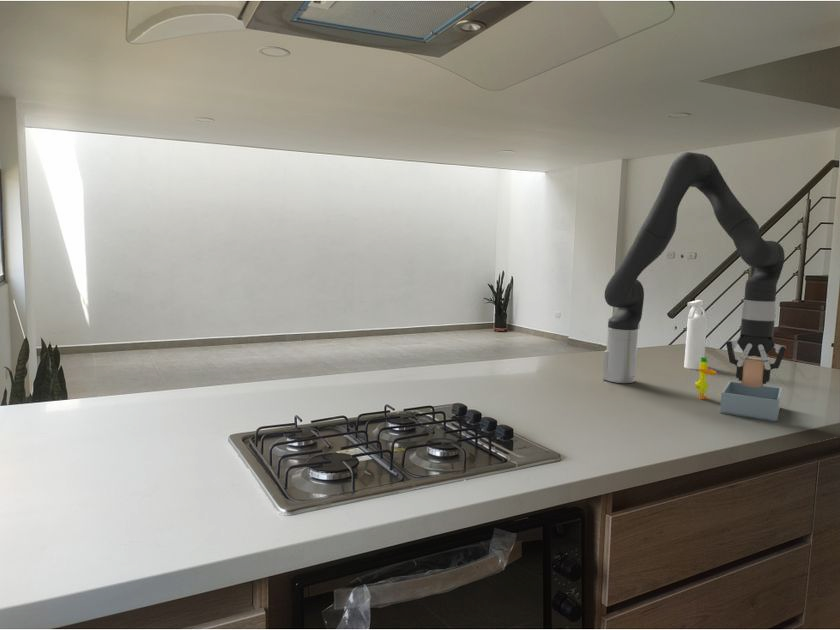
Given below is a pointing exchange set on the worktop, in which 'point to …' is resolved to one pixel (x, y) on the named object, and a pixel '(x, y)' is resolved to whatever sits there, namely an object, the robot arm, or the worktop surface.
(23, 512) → the worktop surface
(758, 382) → the brown egg
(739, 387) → the tote
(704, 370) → the toy figure
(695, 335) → the white spray bottle
